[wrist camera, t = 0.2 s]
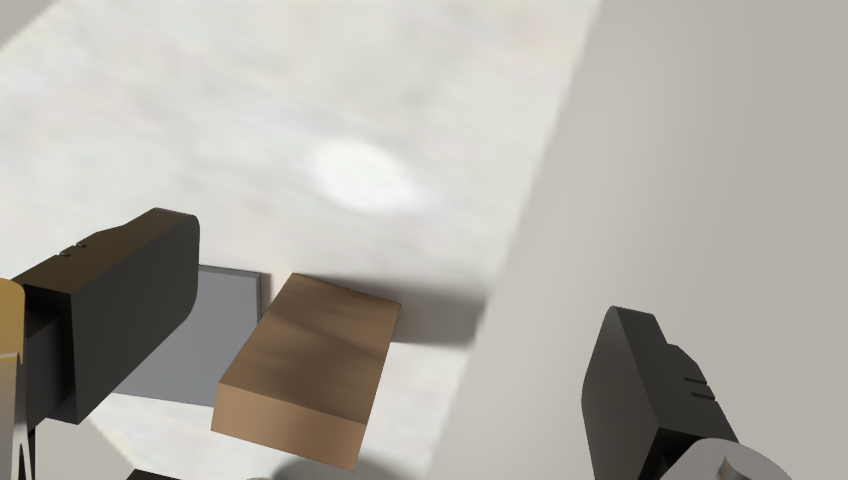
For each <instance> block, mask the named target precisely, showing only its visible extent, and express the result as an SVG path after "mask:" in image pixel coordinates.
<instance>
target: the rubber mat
mask: <svg viewBox="0 0 848 480" xmlns="http://www.w3.org/2000/svg"><path fill="white" fill-rule="evenodd" d="M260 320H261V300H260V273H255V272H247V271H239V270H232V269H224V268H216V267H209V266H201V265H199V269H198V291H197V297H196V301H195V304H194V306H193V309H192V311H191V313H190V314H189V316H188V317H187V319H186V320H185V321H184V322H183V323H182V324H181V325H180V326H179V327H178V328H177V329H176V330H175V331H174V332H172V333H171V334H170V335H169V336H168V337H167V338H166V339H165V340H164V341H163V342H162V343H161V344H160V345H159V346H158V347H157V348H156V349H155V350H154V351H153V352H152V353H151V354H150V355H149V356H148V357H147V358H146V359H145V360H144V361H143V362H142V363H141V364H140V365H139V366H138V367H137V368H136V369H135V370H134V371H133V372H132V373H131V374H130V375H129V376H128V377H127V378H126V379H125V380H123V381H122V382H121V383H120V384H119V385H118V386H117V387H116V388H115V389H114V390H113V391H112V392H111V393H118V394H125V395H132V396H139V397H146V398H153V399H160V400H167V401H174V402H181V403H187V404H194V405H201V406H208V407H214V405H215V399H216V392H217V386H218V382H219V380H220V379H221V377H222V376H223V374H224V373H225V371H226V370H227V368H228V367H229V366H230V364H231V363H232V361H233V360H234V358H235V357H236V355H237V354H238V352H239V351H240V349H241V348H242V346H243V345H244V343H245V342H246V340H247V339H248V338H249V336H250V335H251V333H252V332H253V330H254V329H255V327H256V326H257V324H258V323H259V321H260Z"/></svg>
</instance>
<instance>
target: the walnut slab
mask: <svg viewBox="0 0 848 480" xmlns="http://www.w3.org/2000/svg"><path fill="white" fill-rule="evenodd" d="M400 306H401V304H398V303H395V302H391V301H388V300H384V299H381V298H378V297H374V296H371V295H367V294H364V293H360V292H357V291H353V290H350V289H347V288H343V287H340V286H336V285H333V284H329V283H326V282H322V281H319V280H315V279H312V278H309V277H305V276H302V275H298V274H295V273H292V274H291V276H290V277H289V279H288V280H287V281H286V283H285V284H284V286H283V287H282V289H281V290H280V292H279V293H278V295H277V296H276V298H275V299H274V301H273V302H272V304H271V305H270V307H269V308H268V310H267V311H266V312H265V314H264V315H263V317H262V318H261V320H260V321H259V323H258V324H257V326H256V327H255V329H254V330H253V332H252V333H251V335H250V336H249V338H248V339H247V340H246V342H245V343H244V345H243V346H242V348H241V349H240V351H239V352H238V354H237V355H236V357H235V358H234V360H233V361H232V363H231V364H230V366H229V367H228V368H227V370H226V371H225V373H224V374H223V376H222V377H221V379H220V380H219V382H218V386H217V392H216V399H215V405H214V412H213V418H212V425H211V431H214V432H218V433H221V434H225V435H228V436H231V437H235V438H238V439H242V440H245V441H249V442H252V443H256V444H259V445H263V446H266V447H270V448H273V449H277V450H280V451H284V452H287V453H291V454H294V455H298V456H301V457H305V458H308V459H312V460H315V461H319V462H322V463H326V464H329V465H333V466H336V467H340V468H343V469H347V470H350V471H354V467H355V464H356V461H357V457H358V454H359V450H360V447H361V444H362V440H363V437H364V434H365V430H366V427H367V423H368V420H369V416H370V413H371V409H372V406H373V402H374V398H375V395H376V391H377V388H378V384H379V381H380V377H381V374H382V370H383V366H384V363H385V359H386V356H387V352H388V349H389V345H390V342H391V338H392V334H393V331H394V327H395V324H396V320H397V317H398V313H399V310H400Z"/></svg>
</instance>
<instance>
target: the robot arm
mask: <svg viewBox="0 0 848 480" xmlns="http://www.w3.org/2000/svg"><path fill="white" fill-rule="evenodd" d="M199 241H200V226H199V221H198V219H197V217H196V216H194V215H190V214H186V213H181V212H176V211H172V210H167V209H162V208H158V207H157V208H153V209H151V210H149V211H148V212H146V213H144V214H142V215H141V216H139V217H137V218H135V219H134V220H132V221H130V222H128V223H127V224H125V225H122V226H118V227H114V228H111V229H107V230H103V231H99V232H96V233H94V234H92V235H90V236H88V237H87V238H85V239H83V240H81V241H79V242H78V243H76V246H73V245H72V246H70V247H69V248H67V249H65V250H63V251H61V252H60V254H59V255H54V256H52V257H51V258H49V259H47V260H45V261H43V262H41V263H40V264H38V265H36V266H34V267H32V268H31V269H29V270H27V271H25V272H23V273H22V274H20V275H18V276H16V277H14V278H13V279H11V280H8V279H3V278H0V480H38V439H37V427H36V426H37V425H38V424H39V423H40V422H41V421H42V420H44V419H45V418H51V419H55V420H59V421H63V422H67V423H72V424H76V425H78V424H80V423H81V422H82V421H83V420H84V419H85V418H86V417H87V416H88V415H89V414H90V413H91V412H92V411H93V410H94V409H95V408H96V407H97V406H98V405H99V404H100V403H101V402H102V401H103V400H104V399H105V398H106V397H107V396H108V395H109V394H110V393H111V392H112V391H113V390H114V389H115V388H116V387H117V386H118V385H119V384H120V383H121V382H122V381H123V380H125V379H126V378H127V377H128V376H129V375H130V374H131V373H132V372H133V371H134V370H135V369H136V368H137V367H138V366H139V365H140V364H141V363H142V362H143V361H144V360H145V359H146V358H147V357H148V356H149V355H150V354H151V353H152V352H153V351H154V350H155V349H156V348H157V347H158V346H159V345H160V344H161V343H162V342H163V341H164V340H165V339H166V338H167V337H168V336H169V335H170V334H171V333H172V332H174V331H175V330H176V329H177V328H178V327H179V326H180V325H181V324H182V323H183V322H184V321H185V320H186V319H187V317H188V316H189V314H190V313H191V311H192V309H193V306H194V304H195V301H196V297H197V291H198V269H199ZM581 401H582V402H581V404H582V412H583V418H584V423H585V428H586V434H587V439H588V445H589V450H590V455H591V460H592V466H593V471H594V476H595V480H792V479H791V478H790V477H789V476H788V475H787V473H786V472H784V471H783V470H782V469H781V468H780V467H779V466H778V465H777V464H775V463H774V462H772V461H771V460H770V459H768V458H767V457H765V456H763V455H762V454H760V453H758V452H756V451H755V450H753V449H751V448H748V447H746V446H744V445H741V444H740V443H739V442H738V439H737V438H736V436H735V434H734V432H733V430H732V428H731V427H730V424H729V423H728V421H727V419H726V417H725V415H724V413H723V411H722V409H721V407H720V406H719V404H718V402H717V401H715V396H714V394H713V393H712V391H711V389H710V387H709V386H707V381H706V380H705V378H704V376H703V374H702V372H701V370H700V368H699V366H698V364H696V362H695V361H694V360H692V359H691V358H690V357H689V356H688V355H687V354H686V353H685V352H684V351H683V350H682V349H680V348H679V347H678V346H676V345H672V344H667V342H666V340H665V337H664V335H663V333H662V331H661V329H660V327H659V325H658V323H657V321H656V318H655V317H654V315H653V314H650V313H645V312H640V311H636V310H631V309H626V308H622V307H616V306H611V307H610V308H609V309H608V311H607V313H606V315H605V318H604V321H603V324H602V327H601V330H600V333H599V336H598V339H597V342H596V345H595V348H594V351H593V354H592V357H591V360H590V363H589V366H588V369H587V372H586V375H585V379H584V383H583V389H582V400H581ZM126 480H180V479H176V478H172V477H167V476H163V475H159V474H155V473H151V472H146V471H142V470H138V469H135V470H134V471H133V472H132V473H131V475H130V476H129V477H128V478H127V479H126Z"/></svg>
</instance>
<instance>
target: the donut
mask: <svg viewBox="0 0 848 480" xmlns="http://www.w3.org/2000/svg"><path fill="white" fill-rule="evenodd" d="M248 480H273V479H271V478H251V479H248Z"/></svg>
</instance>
